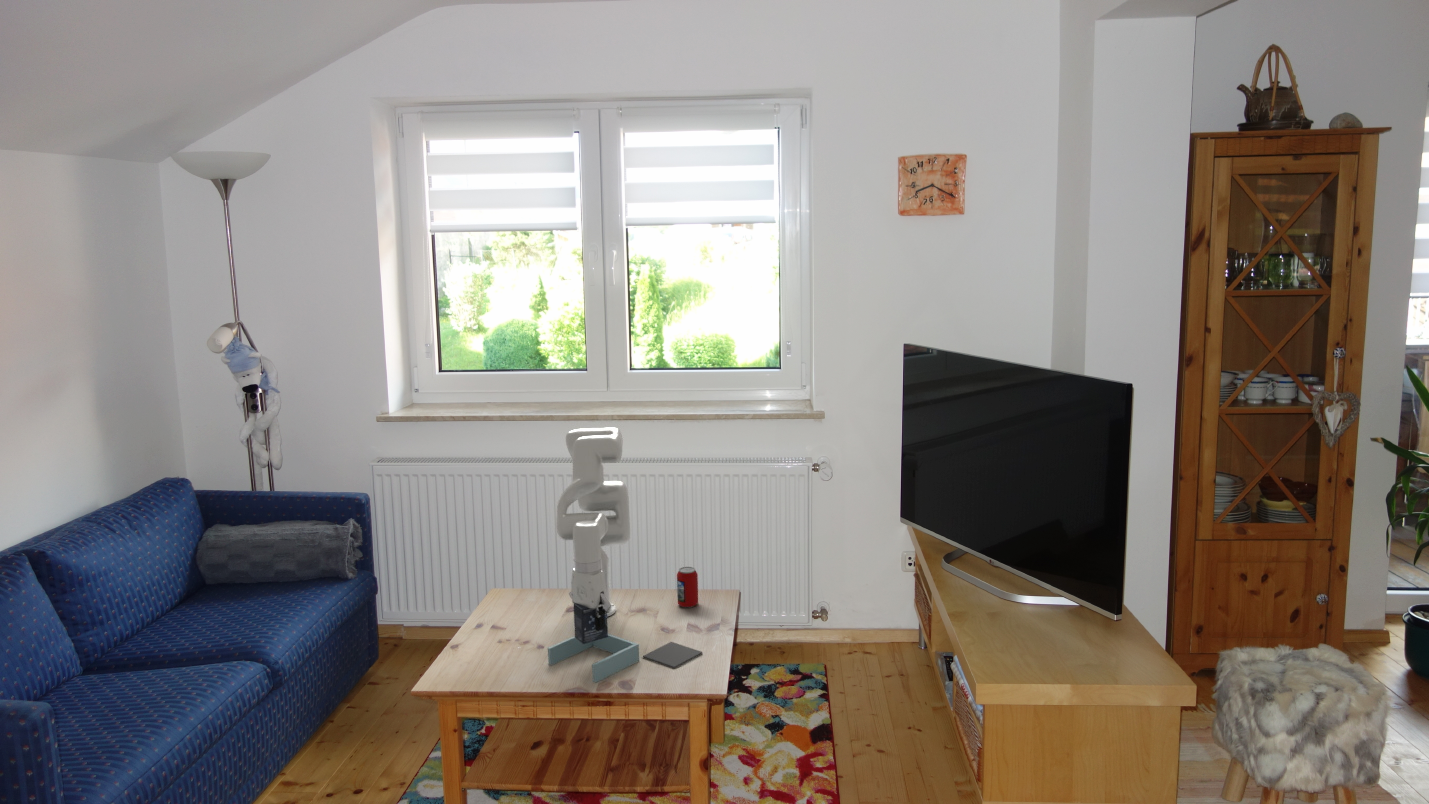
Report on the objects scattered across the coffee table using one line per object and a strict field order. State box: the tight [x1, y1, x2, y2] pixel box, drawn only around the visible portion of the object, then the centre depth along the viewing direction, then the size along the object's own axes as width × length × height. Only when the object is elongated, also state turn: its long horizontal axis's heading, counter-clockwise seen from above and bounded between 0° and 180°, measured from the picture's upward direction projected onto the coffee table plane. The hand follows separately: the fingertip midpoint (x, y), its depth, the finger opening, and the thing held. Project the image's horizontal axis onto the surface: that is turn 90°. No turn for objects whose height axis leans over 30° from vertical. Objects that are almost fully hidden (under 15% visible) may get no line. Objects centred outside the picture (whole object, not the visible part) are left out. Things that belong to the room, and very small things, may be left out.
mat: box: [642, 641, 703, 669], centre depth 266 cm, size 12×12×1 cm
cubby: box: [547, 633, 640, 683], centre depth 263 cm, size 19×17×5 cm
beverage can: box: [676, 566, 699, 608], centre depth 304 cm, size 7×7×12 cm
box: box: [573, 603, 609, 644], centre depth 262 cm, size 8×6×11 cm
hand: (591, 624), depth 262 cm, fingers closed on box, 6 cm apart
